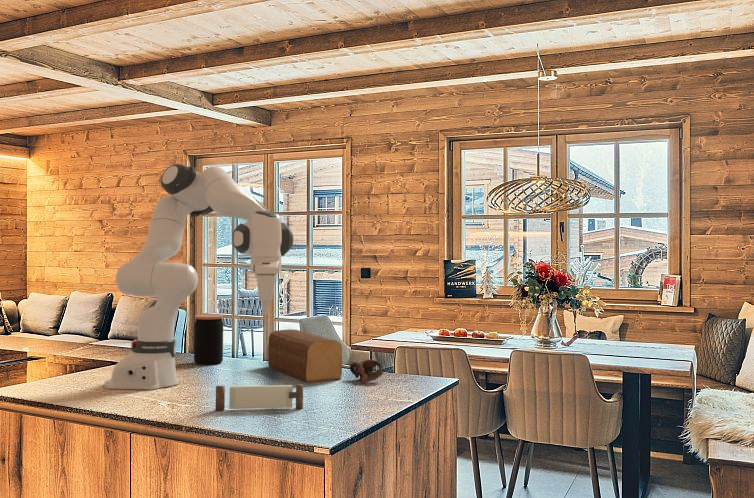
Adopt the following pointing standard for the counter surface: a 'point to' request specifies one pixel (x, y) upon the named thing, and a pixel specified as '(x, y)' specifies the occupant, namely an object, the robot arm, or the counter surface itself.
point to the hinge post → (220, 398)
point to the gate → (260, 397)
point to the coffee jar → (208, 339)
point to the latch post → (298, 396)
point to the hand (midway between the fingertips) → (265, 314)
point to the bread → (305, 355)
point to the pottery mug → (366, 370)
